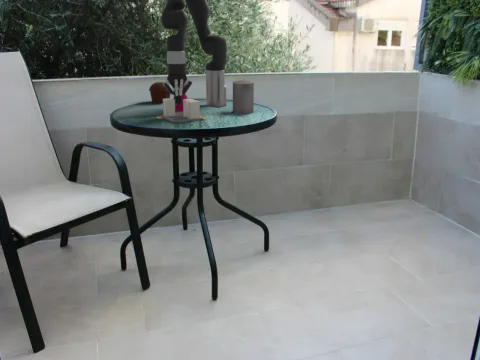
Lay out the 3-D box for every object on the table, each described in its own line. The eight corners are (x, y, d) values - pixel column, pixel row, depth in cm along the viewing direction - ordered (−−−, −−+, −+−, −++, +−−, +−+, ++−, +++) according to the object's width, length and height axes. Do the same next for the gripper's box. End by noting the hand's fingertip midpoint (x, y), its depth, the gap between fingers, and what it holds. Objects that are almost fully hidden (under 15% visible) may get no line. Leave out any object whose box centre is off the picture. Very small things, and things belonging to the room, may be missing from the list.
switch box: (196, 115, 204) (196, 111, 203) (210, 121, 191) (210, 117, 191) (152, 119, 195) (152, 115, 194) (165, 126, 182) (164, 121, 182)
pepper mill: (191, 111, 214) (190, 67, 207) (184, 113, 207) (183, 68, 201) (177, 110, 216) (175, 66, 209) (170, 112, 209) (168, 67, 203)
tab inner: (172, 115, 197) (171, 98, 195) (175, 117, 194) (174, 99, 192) (163, 116, 195) (162, 98, 193) (166, 118, 193) (165, 100, 190)
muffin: (176, 101, 238) (176, 82, 235) (162, 104, 229) (161, 84, 226) (159, 99, 244) (158, 80, 241) (144, 102, 235) (143, 82, 232)
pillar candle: (236, 109, 219) (236, 77, 214) (256, 110, 216) (256, 78, 211) (229, 113, 211) (229, 79, 206) (249, 114, 208) (250, 80, 203)
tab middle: (192, 116, 196) (191, 98, 194) (195, 117, 194) (194, 99, 191) (183, 117, 195) (183, 99, 192) (186, 118, 192) (186, 100, 189)
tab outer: (196, 118, 192) (196, 100, 190) (199, 119, 190) (199, 101, 187) (187, 119, 191) (187, 101, 188) (190, 120, 188) (190, 102, 185)
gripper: (187, 61, 195) (189, 101, 201) (158, 62, 189) (160, 104, 195) (194, 62, 189) (196, 104, 195) (164, 63, 183) (166, 107, 189)
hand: (178, 104), depth 195 cm, fingers closed
